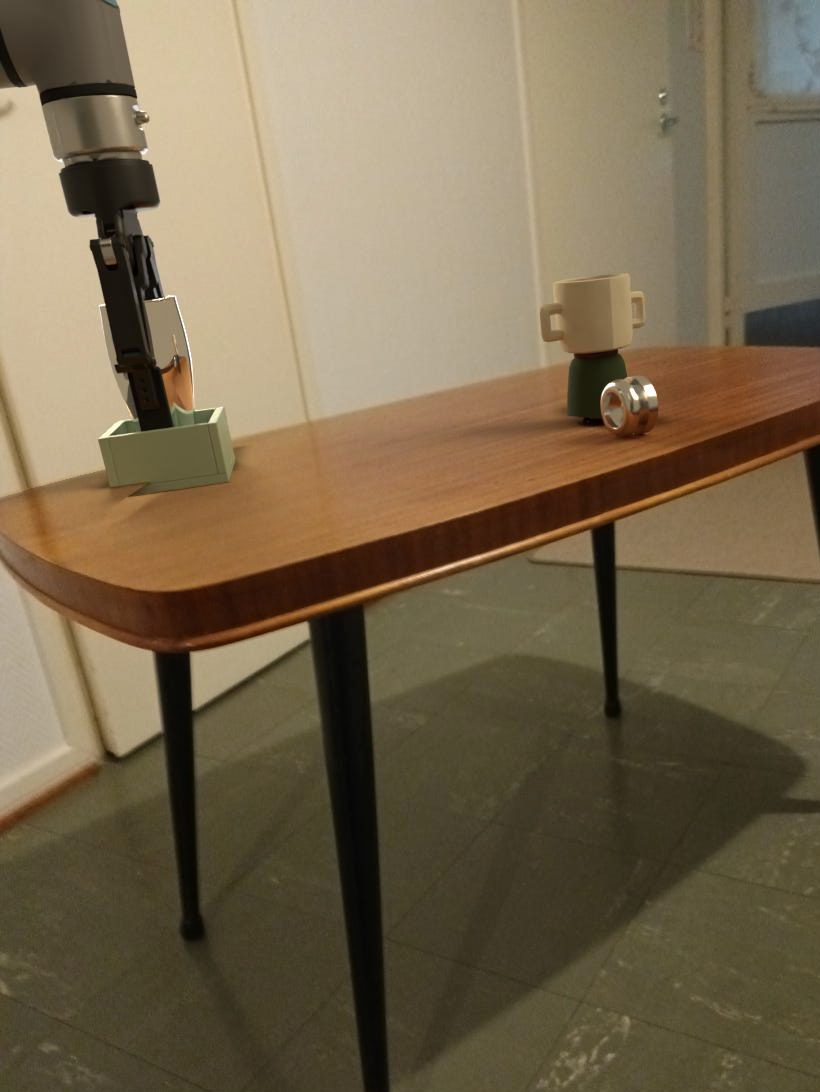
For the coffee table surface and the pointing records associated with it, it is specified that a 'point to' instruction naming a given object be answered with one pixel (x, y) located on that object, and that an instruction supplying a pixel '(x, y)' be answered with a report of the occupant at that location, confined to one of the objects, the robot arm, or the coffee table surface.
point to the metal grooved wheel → (629, 406)
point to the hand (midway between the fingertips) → (168, 437)
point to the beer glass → (162, 359)
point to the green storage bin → (169, 454)
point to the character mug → (592, 334)
